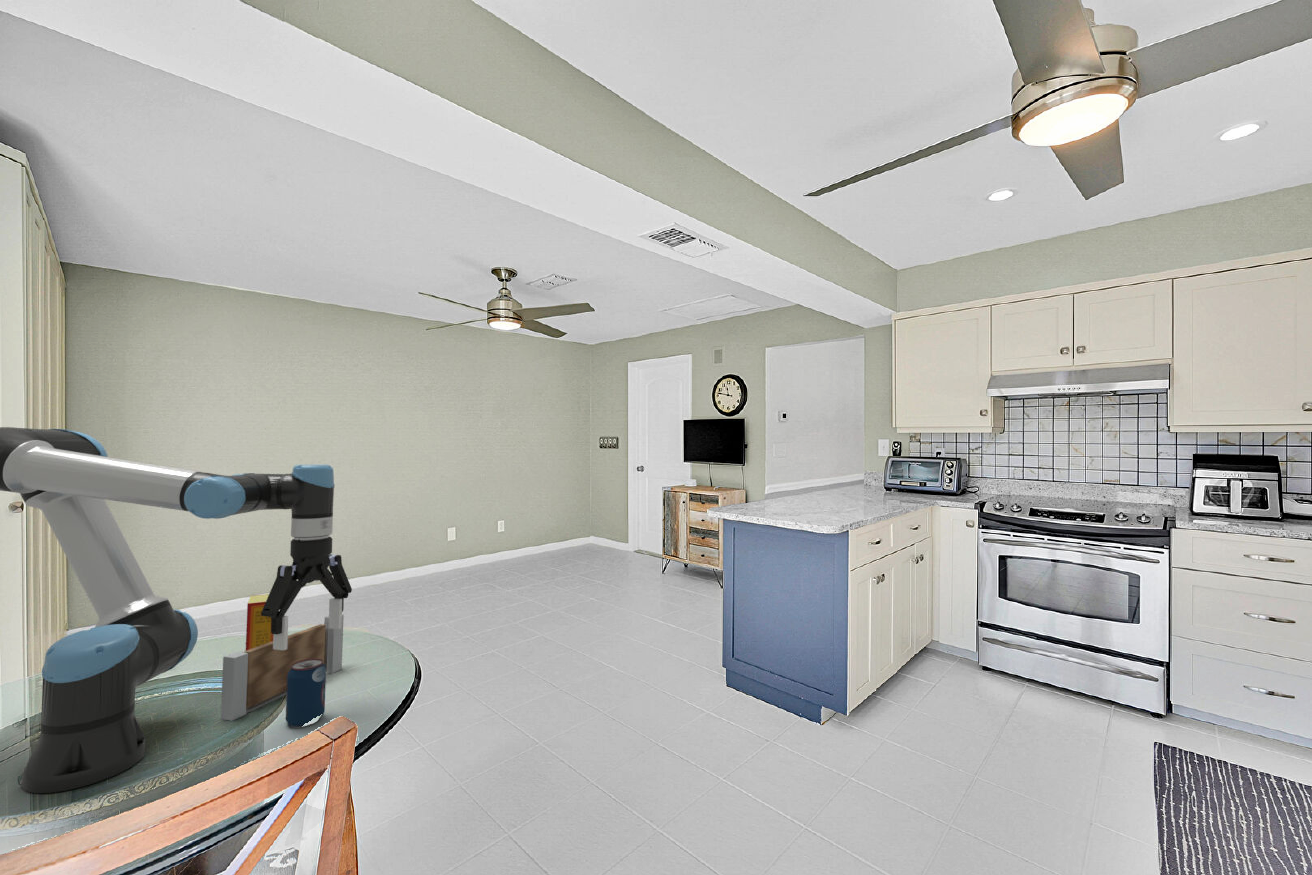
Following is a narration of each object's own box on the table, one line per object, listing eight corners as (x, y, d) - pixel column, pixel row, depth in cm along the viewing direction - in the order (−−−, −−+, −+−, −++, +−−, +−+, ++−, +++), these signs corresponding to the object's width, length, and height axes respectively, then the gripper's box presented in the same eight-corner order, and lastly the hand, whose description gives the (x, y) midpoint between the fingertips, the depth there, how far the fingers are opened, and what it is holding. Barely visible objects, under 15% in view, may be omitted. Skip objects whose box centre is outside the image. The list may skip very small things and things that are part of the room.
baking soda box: (248, 651, 154) (250, 594, 154) (276, 647, 157) (278, 591, 158) (245, 663, 146) (247, 602, 146) (274, 658, 149) (277, 599, 150)
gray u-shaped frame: (231, 720, 115) (234, 653, 115) (220, 718, 115) (223, 651, 116) (341, 668, 143) (343, 614, 143) (332, 667, 144) (334, 613, 144)
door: (247, 708, 119) (250, 652, 119) (236, 706, 120) (239, 650, 120) (328, 670, 140) (330, 623, 140) (318, 669, 140) (320, 622, 141)
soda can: (331, 718, 116) (333, 661, 117) (296, 732, 110) (298, 672, 111) (313, 710, 120) (315, 654, 120) (278, 723, 114) (280, 665, 114)
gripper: (272, 547, 103) (269, 661, 103) (370, 530, 128) (368, 622, 127) (241, 545, 105) (237, 657, 105) (343, 528, 129) (341, 619, 129)
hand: (309, 638), depth 116 cm, fingers open, 13 cm apart
